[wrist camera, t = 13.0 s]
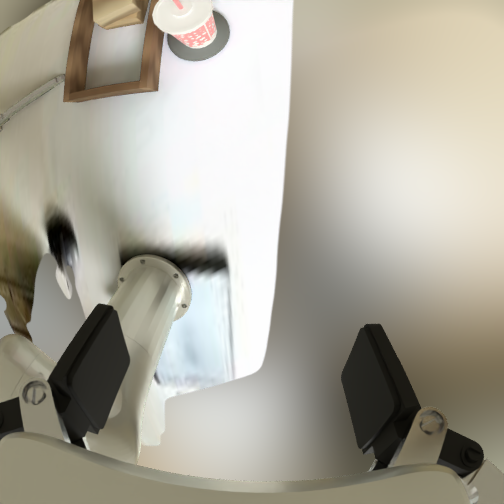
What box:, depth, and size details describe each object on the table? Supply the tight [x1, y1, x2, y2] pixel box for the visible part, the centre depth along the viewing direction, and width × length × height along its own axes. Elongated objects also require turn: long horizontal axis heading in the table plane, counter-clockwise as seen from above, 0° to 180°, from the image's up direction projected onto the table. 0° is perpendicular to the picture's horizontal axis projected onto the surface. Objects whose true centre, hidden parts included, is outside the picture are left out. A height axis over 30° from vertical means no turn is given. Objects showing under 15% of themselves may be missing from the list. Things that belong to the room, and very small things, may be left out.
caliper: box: [0, 74, 65, 131], centre depth 26 cm, size 20×1×6 cm, turn 103°
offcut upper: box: [92, 0, 141, 27], centre depth 20 cm, size 6×6×3 cm
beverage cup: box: [152, 0, 217, 48], centre depth 20 cm, size 6×6×14 cm
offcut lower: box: [98, 0, 149, 30], centre depth 23 cm, size 6×6×3 cm
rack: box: [63, 0, 164, 102], centre depth 24 cm, size 18×13×4 cm
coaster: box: [168, 11, 230, 61], centre depth 26 cm, size 8×8×1 cm
